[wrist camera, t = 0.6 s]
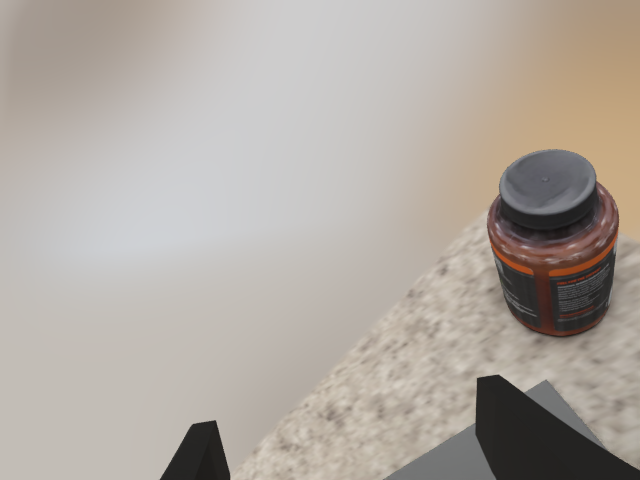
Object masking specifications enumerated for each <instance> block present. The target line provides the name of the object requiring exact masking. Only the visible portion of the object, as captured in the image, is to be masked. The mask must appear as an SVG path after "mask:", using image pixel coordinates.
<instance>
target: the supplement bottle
mask: <svg viewBox="0 0 640 480" xmlns="http://www.w3.org/2000/svg"><path fill="white" fill-rule="evenodd" d="M499 190H500V194H499V195H498V196H497V197H496V199H495V200H494V201H493V203H492V205H491V207H490V210H489V213H488V218H487V228H488V234H489V239H490V243H491V248H492V252H493V255H494V258H495V263H496V267H497V270H498V274H499V278H500V282H501V286H502V289H503V293H504V297H505V299H506V302H507V304H508V307H509V309H510V311H511V312H512V314H513V315H514V316H515V317H516V318H517V319H518V320H519V321H520V322H521V323H522V324H524V325H525V326H527V327H529V328H531V329H533V330H535V331H538V332H541V333H545V334H549V335H559V336H565V335H572V334H576V333H580V332H582V331H585V330H587V329H589V328H591V327H592V326H594V325H595V324H597V323H598V322H599V321H600V320H601V319H602V317H603V316H604V315H605V313H606V311H607V309H608V307H609V303H610V300H611V293H612V284H613V276H614V265H615V256H616V247H617V238H618V227H619V214H618V208H617V205H616V203H615V201H614V199H613V197H612V196H611V195H610V193H609V192H608V191H607V190H606V188H604V187H603V186H602V185H601V184H600V183H598V182H597V181H596V173H595V170H594V168H593V166H592V165H591V164H590V162H589V161H587V160H586V159H585V158H584V157H582V156H580V155H578V154H577V153H573V152H570V151H566V150H557V149H554V150H543V151H537V152H533V153H530V154H528V155H525V156H523V157H521V158H519V159H518V160H516V161H515V162H513V163H512V164H511V165H510V166H509V167H507V169H506V170H505V172H504V173H503V175H502V177H501V180H500V184H499Z"/></svg>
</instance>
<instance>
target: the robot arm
mask: <svg viewBox="0 0 640 480" xmlns="http://www.w3.org/2000/svg"><path fill="white" fill-rule="evenodd" d="M475 435H476V437H477V439H478V442H479V444H480V446H481V449H482V451H483V453H484V456H485V458H486V460H487V462H488V464H489V467H490V469H491V471H492V473H493V475H494V476H495V478H496V480H640V470H638V469H636V468H634V467H633V466H631V465H629V464H628V463H626V462H624V461H623V460H621V459H619V458H618V457H616V456H615V455H613V454H611V453H610V452H608V451H607V450H605V449H604V448H602V447H600V446H599V445H597V444H596V443H594V442H593V441H591V440H589V439H588V438H586V437H585V436H583V435H582V434H580V433H579V432H577V431H576V430H575V429H573V428H572V427H570V426H569V425H567V424H566V423H564V422H563V421H562V420H560V419H559V418H557V417H556V416H554V415H553V414H552V413H550V412H549V411H548V410H546V409H545V408H543V407H542V406H541V405H539V404H538V403H537V402H535V401H534V400H532V399H531V398H530V397H528V396H527V395H526V394H524V393H523V392H522V391H520V390H519V389H518V388H516V387H515V386H514V385H512V384H511V383H510V382H508V381H507V380H505V379H504V378H503V377H501V376H500V375H492V376H486V377H480V378H477V397H476V426H475ZM160 480H230V472H229V468H228V465H227V461H226V457H225V453H224V449H223V446H222V442H221V438H220V435H219V430H218V427H217V423H216V421H215V420H214V421H209V422H202V423H196V424H193V425H192V426H191V427H190V429H189V430H188V432H187V434H186V436H185V437H184V439H183V441H182V443H181V444H180V446H179V448H178V450H177V452H176V453H175V455H174V457H173V458H172V460H171V462H170V464H169V465H168V467H167V469H166V470H165V472H164V474H163V475H162V477H161V479H160Z"/></svg>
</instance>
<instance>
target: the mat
mask: <svg viewBox="0 0 640 480" xmlns="http://www.w3.org/2000/svg"><path fill="white" fill-rule="evenodd" d="M524 394H526V395H527V396H528V397H530V398H531V399H532V400H534V401H535V402H537V403H538V404H539V405H541V406H542V407H543V408H545V409H546V410H548V411H549V412H550V413H552V414H553V415H554V416H556V417H557V418H559V419H560V420H562V421H563V422H564V423H566V424H567V425H569V426H570V427H572V428H573V429H575V430H576V431H577V432H579V433H580V434H582V435H583V436H585V437H586V438H588V439H589V440H591V441H593V442H594V443H596V444H597V445H599V446H600V447H602V448H604V449H605V450H607V449H606V448H605V447H604V446H603V445H602V443H601V442H600V441H599V440H598V439H597V438H596V436H595V435H594V434H593V433H592V432H591V431H590V429H589V428H588V427H587V426H586V425H585V424H584V423H583V421H582V420H581V419H580V418H579V417H578V416H577V414H576V413H575V412H574V411H573V410H572V409H571V407H570V406H569V405H568V404H567V403H566V402H565V401H564V399H563V398H562V397H561V396H560V395H559V394H558V392H557V391H556V390H555V389H554V388H553V387H552V385H551V384H550V383H549V382H548V381H547V380H545V381H543V382H541V383H540V384H538V385H536V386H535V387H533V388H531V389H530V390H528V391H527V392H525V393H524ZM475 426H476V423H474V424H473V425H471V426H470V427H468V428H466V429H465V430H463V431H461V432H460V433H458V434H457V435H455V436H453V437H452V438H450V439H448V440H447V441H445V442H444V443H442V444H440V445H439V446H437V447H435V448H434V449H432V450H430V451H429V452H427V453H426V454H424V455H422V456H421V457H419V458H417V459H416V460H414V461H413V462H411V463H409V464H408V465H406V466H404V467H403V468H401V469H400V470H398V471H396V472H395V473H393V474H391V475H390V476H388V477H387V478H385V479H383V480H496V478H495V476H494V475H493V473H492V471H491V469H490V467H489V464H488V462H487V460H486V458H485V456H484V453H483V451H482V449H481V446H480V444H479V442H478V439H477V437H476V435H475ZM607 451H608V450H607ZM608 452H609V451H608Z"/></svg>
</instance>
